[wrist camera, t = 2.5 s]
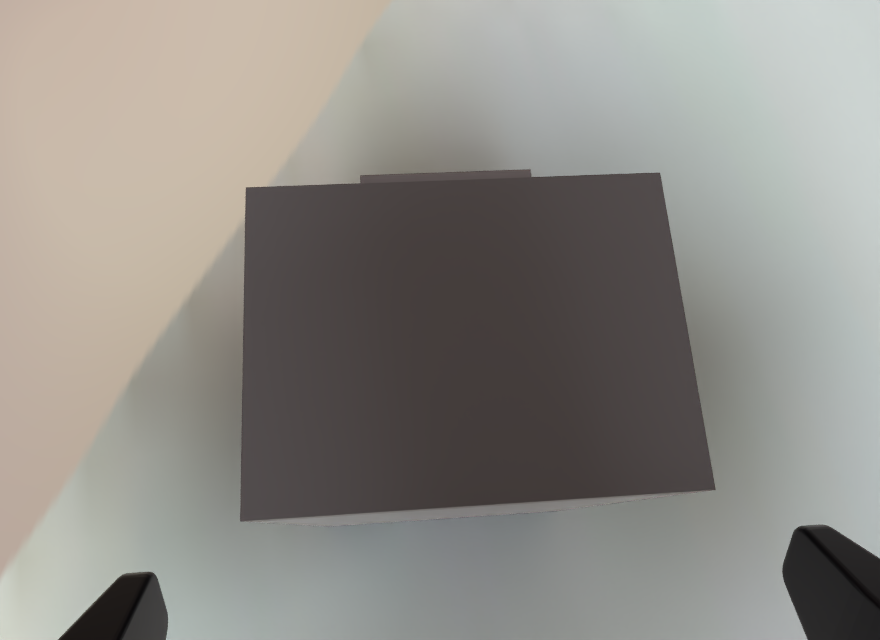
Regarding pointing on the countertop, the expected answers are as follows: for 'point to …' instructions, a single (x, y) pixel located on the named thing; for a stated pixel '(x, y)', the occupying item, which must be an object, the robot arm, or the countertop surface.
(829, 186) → the countertop surface
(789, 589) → the robot arm
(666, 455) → the grey rectangular block
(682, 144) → the countertop surface
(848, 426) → the countertop surface
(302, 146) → the countertop surface
